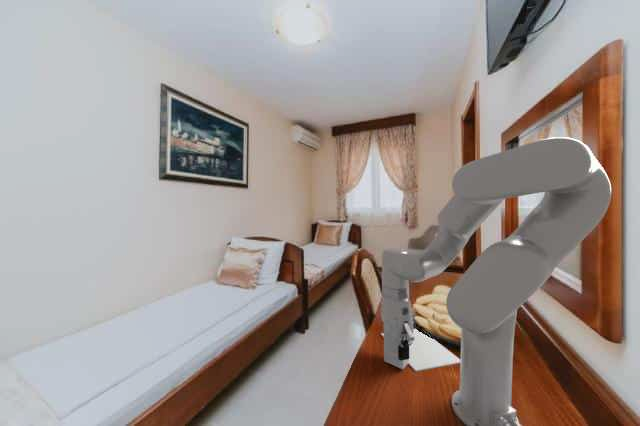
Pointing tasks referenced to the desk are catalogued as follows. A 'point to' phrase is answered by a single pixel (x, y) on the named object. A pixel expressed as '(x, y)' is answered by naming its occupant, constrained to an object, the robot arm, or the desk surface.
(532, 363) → the desk surface
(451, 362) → the white mat
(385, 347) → the skincare box
